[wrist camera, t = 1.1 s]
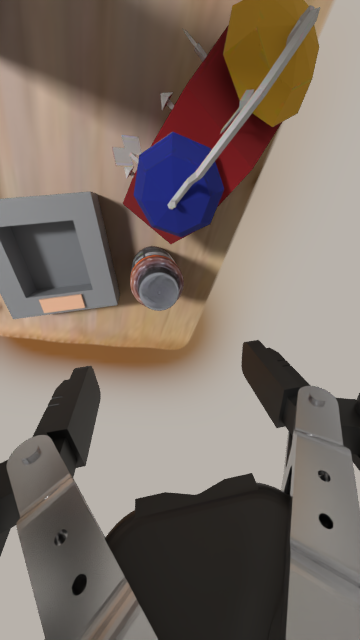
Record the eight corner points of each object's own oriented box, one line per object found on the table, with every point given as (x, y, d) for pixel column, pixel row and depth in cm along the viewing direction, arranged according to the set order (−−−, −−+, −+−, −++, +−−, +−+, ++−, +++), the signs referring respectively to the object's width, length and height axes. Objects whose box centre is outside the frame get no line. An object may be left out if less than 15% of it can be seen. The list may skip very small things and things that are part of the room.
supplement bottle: (165, 291, 33) (175, 327, 23) (127, 279, 31) (120, 311, 21) (180, 254, 31) (198, 275, 21) (139, 238, 29) (138, 253, 19)
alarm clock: (165, 237, 29) (200, 278, 12) (109, 190, 26) (41, 148, 8) (242, 134, 26) (462, -32, 8) (188, 62, 22) (365, -508, 5)
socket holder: (-19, 203, 25) (-48, 202, 21) (97, 194, 26) (89, 191, 22) (27, 306, 31) (11, 320, 27) (119, 294, 32) (117, 305, 28)
